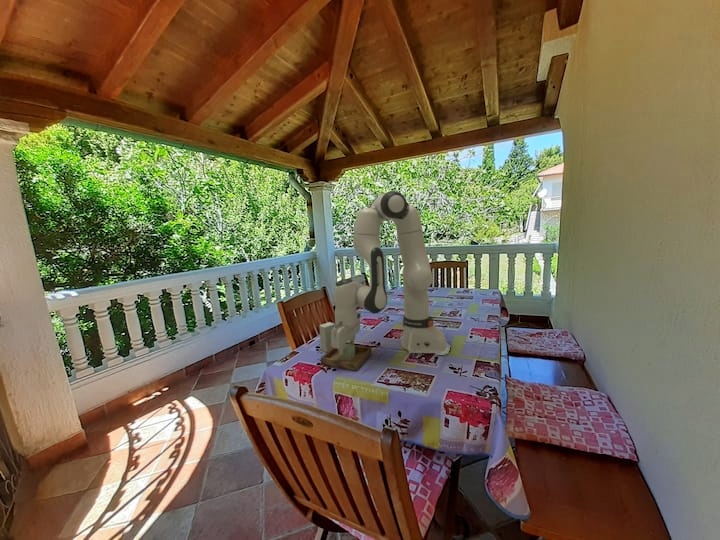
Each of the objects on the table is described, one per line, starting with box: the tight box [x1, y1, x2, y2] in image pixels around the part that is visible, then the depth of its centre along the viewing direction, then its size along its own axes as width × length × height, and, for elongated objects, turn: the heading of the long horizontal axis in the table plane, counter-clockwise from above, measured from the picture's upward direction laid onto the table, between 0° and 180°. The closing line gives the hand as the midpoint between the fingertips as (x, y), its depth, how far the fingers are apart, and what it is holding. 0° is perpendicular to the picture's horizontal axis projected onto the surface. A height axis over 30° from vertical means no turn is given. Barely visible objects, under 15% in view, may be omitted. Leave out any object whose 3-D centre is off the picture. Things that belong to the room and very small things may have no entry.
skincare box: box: [318, 321, 336, 353], centre depth 131 cm, size 6×4×12 cm
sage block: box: [339, 343, 355, 362], centre depth 122 cm, size 5×5×5 cm
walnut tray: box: [320, 344, 373, 373], centre depth 122 cm, size 16×16×3 cm
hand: (346, 349), depth 121 cm, fingers open, 8 cm apart
